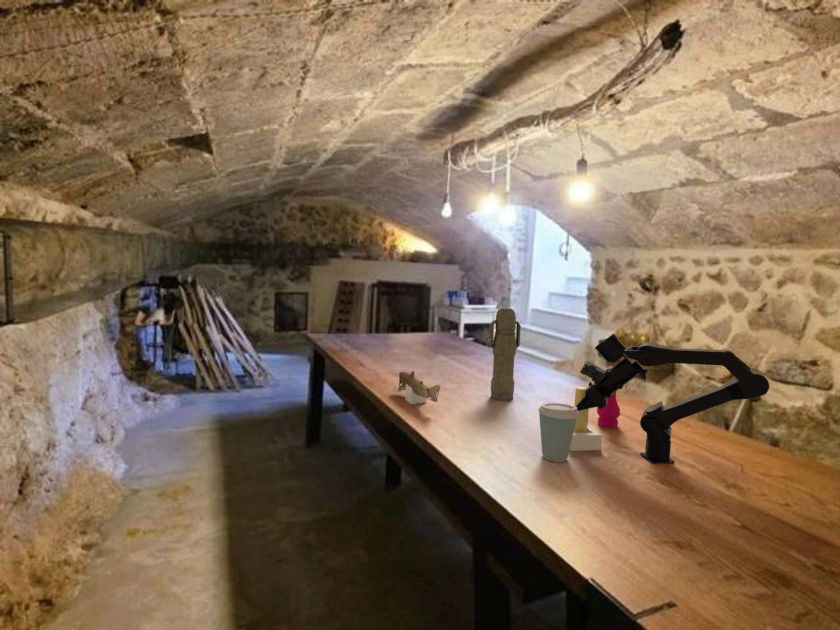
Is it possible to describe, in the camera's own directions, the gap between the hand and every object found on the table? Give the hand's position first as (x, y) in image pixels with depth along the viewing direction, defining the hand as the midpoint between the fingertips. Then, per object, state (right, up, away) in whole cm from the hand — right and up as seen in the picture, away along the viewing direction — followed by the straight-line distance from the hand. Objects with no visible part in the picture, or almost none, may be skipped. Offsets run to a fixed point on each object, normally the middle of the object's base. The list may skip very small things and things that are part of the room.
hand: (576, 407), depth 145 cm
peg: (+1, -7, 0) cm, 7 cm away
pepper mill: (+16, -9, +19) cm, 27 cm away
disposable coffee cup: (-9, -12, -10) cm, 18 cm away
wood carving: (-47, -6, +38) cm, 61 cm away
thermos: (-14, -5, +47) cm, 50 cm away
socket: (+1, -11, +1) cm, 11 cm away
